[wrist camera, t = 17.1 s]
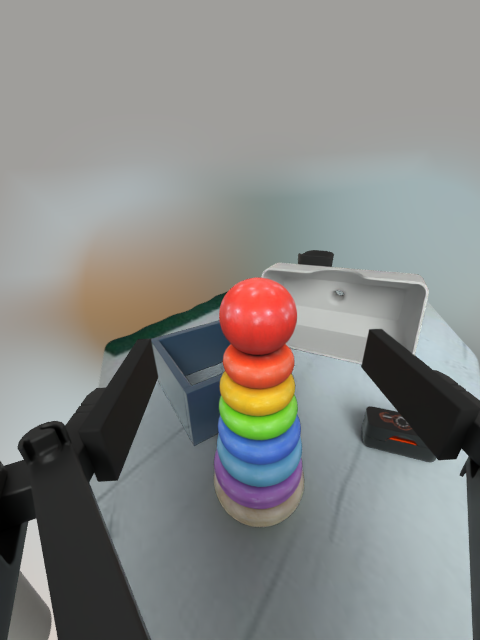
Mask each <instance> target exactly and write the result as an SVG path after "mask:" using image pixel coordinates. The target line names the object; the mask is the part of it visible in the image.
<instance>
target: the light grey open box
mask: <svg viewBox="0 0 480 640" xmlns="http://www.w3.org/2000/svg"><path fill="white" fill-rule="evenodd" d="M261 278H266V279H270V280H273V281H275V282H277V283H279V284H281V285H282V286H283V287H284V288H286V289H287V290H288V292H289V293H290V294H291V296H292V298H293V299H294V302H295V304H296V309H297V323H296V327H295V329H294V332H293V334H292V336H291V338H290V339H289V341H288V342H287V343H286V345H287V346H288V347H289V348H292V349H297V350H301V351H305V352H310V353H314V354H318V355H323V356H327V357H331V358H336V359H340V360H344V361H349V362H353V363H357V364H362V361H363V356H364V351H365V346H366V342H367V337H368V332H369V329H383V330H384V331H385V332H386V333H388V334H389V335H390V336H391V337H393V338H394V339H395V340H396V341H397V342H399V343H400V344H401V345H402V346H404V347H405V348H406V349H407V350H409V351H410V352H411V353H412V354H414V355H415V352H416V347H417V343H418V339H419V334H420V330H421V325H422V321H423V317H424V312H425V308H426V303H427V299H428V295H429V291H428V288H427V286H426V283H425V281H424V279H423V278H422V277H421V276H420V275H418V274H409V273H396V272H385V271H372V270H361V269H349V268H336V267H325V266H312V265H300V264H288V263H276V264H274V265H273V266H271V267H269V268H267V269H266V270H264V272H263V273H262V277H261ZM337 290H339V291H342V292H343V293H344V295H338V294H337V293H336V291H337Z"/></svg>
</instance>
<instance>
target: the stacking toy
mask: <svg viewBox="0 0 480 640" xmlns="http://www.w3.org/2000/svg"><path fill="white" fill-rule="evenodd" d="M219 319H220V325H221V328H222V331H223V334H224V335H225V337H226V339H227V340H228V341H229V342H230V343H231V344H230V345H229V346H228V348H227V349H226V351H225V353H224V356H223V366H224V369H225V371H224V373H223V375H222V377H221V379H220V393H221V397H220V401H219V412H220V417H219V421H218V432H219V434H218V439H217V449H216V453H215V458H214V469H215V471H214V486H215V491H216V494H217V497H218V499H219V501H220V503H221V505H222V506H223V508H224V509H225V510H226V512H227V513H228V514H229V515H230V516H232V517H233V518H234V519H236V520H237V521H239V522H241V523H243V524H245V525H249V526H253V527H268V526H273V525H276V524H278V523H280V522H282V521H284V520H285V519H287V518H288V517H289V516H290V515H291V514H292V513H293V512H294V511H295V509H296V508H297V506H298V505H299V503H300V500H301V498H302V495H303V490H304V475H303V470H302V459H301V454H302V443H301V438H300V432H301V426H300V421H299V418H298V415H297V410H298V407H297V400H296V397H295V395H294V392H295V382H294V378H293V376H292V374H291V372H292V370H293V367H294V356H293V353H292V351H291V349H290V348H289V347H288V346H287V345H286V343H287V342H288V341H289V339H290V338H291V336H292V334H293V332H294V329H295V327H296V323H297V309H296V304H295V302H294V299H293V298H292V296H291V294H290V293H289V292H288V290H287V289H286V288H284V287H283V286H282V285H281V284H279V283H277V282H275V281H273V280H270V279H266V278H250V279H246V280H243V281H241V282H239V283H237V284H236V285H235V286H233V287H232V288H231V289H230V290H229V291H228V292H227V294H226V295H225V297H224V299H223V300H222V303H221V306H220V313H219Z"/></svg>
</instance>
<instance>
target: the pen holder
mask: <svg viewBox="0 0 480 640" xmlns="http://www.w3.org/2000/svg"><path fill="white" fill-rule="evenodd" d="M333 256H334V254H333V253H332V252H328V251H318V250H312V251H307V252H305V253H303V254H298V264H300V265H312V266H325V267H332V261H333Z"/></svg>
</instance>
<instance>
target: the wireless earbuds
mask: <svg viewBox="0 0 480 640" xmlns="http://www.w3.org/2000/svg"><path fill="white" fill-rule="evenodd" d="M362 436H363V442H364V444H365V445H366V446H368V447H370V448H374V449H378V450H382V451H386V452H390V453H394V454H398V455H402V456H406V457H410V458H414V459H418V460H422V461H426V462H434V461H435V459H436V457H435V456H434V454H433V453H432V452H431V451H430V449H429V448H428V447H427V446H426V445H425V443H424V442H423V441H422V440H421V439H420V437H419V436H418V435H417V434H416V433H415V431H414V430H413V429H412V428H411V427H410V425H409V424H408V423H407V422H406V420H405V419H404V418H403V417H402V416H401V414H400V413H399V412H396V411H391V410H386V409H381V408H376V407H367V408H366V412H365V416H364V421H363V425H362Z"/></svg>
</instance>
